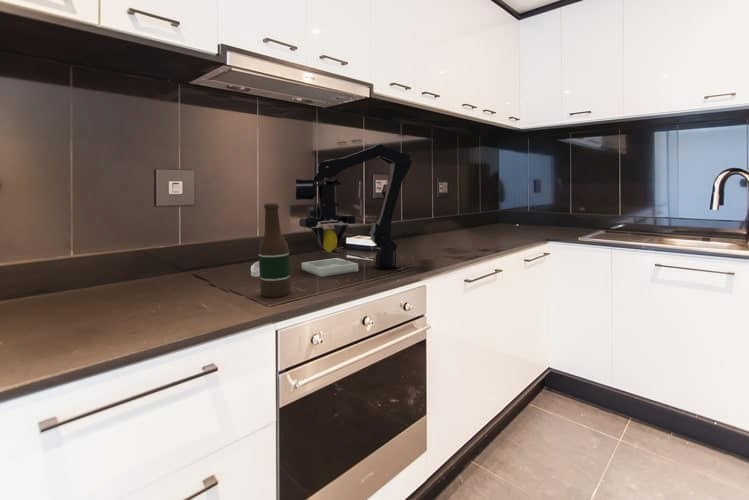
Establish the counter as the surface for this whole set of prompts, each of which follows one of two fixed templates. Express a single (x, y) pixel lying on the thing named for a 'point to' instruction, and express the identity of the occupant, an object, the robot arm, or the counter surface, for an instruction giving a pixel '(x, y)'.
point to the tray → (329, 267)
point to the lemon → (329, 240)
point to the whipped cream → (255, 270)
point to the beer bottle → (273, 256)
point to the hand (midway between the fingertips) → (329, 246)
